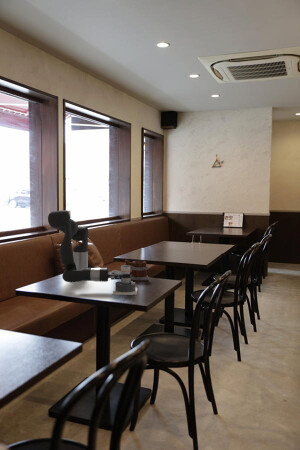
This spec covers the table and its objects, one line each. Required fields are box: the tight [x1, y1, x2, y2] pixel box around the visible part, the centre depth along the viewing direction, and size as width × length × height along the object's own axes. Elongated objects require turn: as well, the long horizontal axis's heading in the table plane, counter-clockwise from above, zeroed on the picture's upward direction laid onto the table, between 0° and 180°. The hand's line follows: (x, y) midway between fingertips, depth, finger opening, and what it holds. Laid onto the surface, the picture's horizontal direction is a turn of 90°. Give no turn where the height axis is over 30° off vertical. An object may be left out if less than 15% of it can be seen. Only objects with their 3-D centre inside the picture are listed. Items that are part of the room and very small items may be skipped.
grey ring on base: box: [112, 280, 138, 296], centre depth 229 cm, size 13×13×5 cm
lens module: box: [120, 264, 131, 284], centre depth 228 cm, size 5×5×12 cm
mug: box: [124, 259, 149, 283], centre depth 260 cm, size 12×14×15 cm
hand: (130, 275), depth 228 cm, fingers closed on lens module, 4 cm apart
